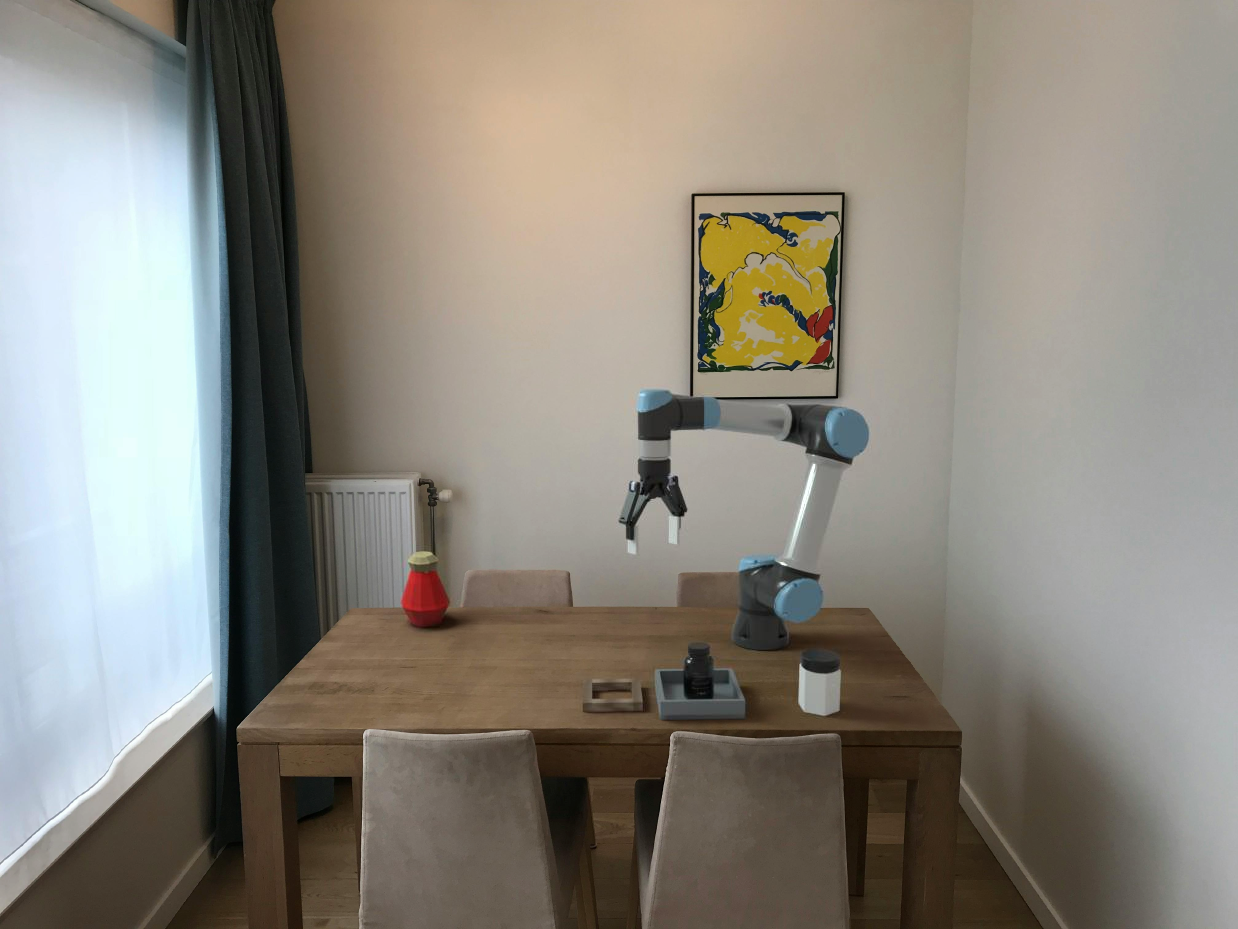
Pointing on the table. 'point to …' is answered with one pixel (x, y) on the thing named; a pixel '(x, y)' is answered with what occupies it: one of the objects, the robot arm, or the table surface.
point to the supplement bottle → (698, 672)
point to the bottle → (424, 592)
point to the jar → (819, 682)
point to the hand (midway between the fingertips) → (653, 548)
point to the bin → (721, 706)
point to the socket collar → (612, 704)
